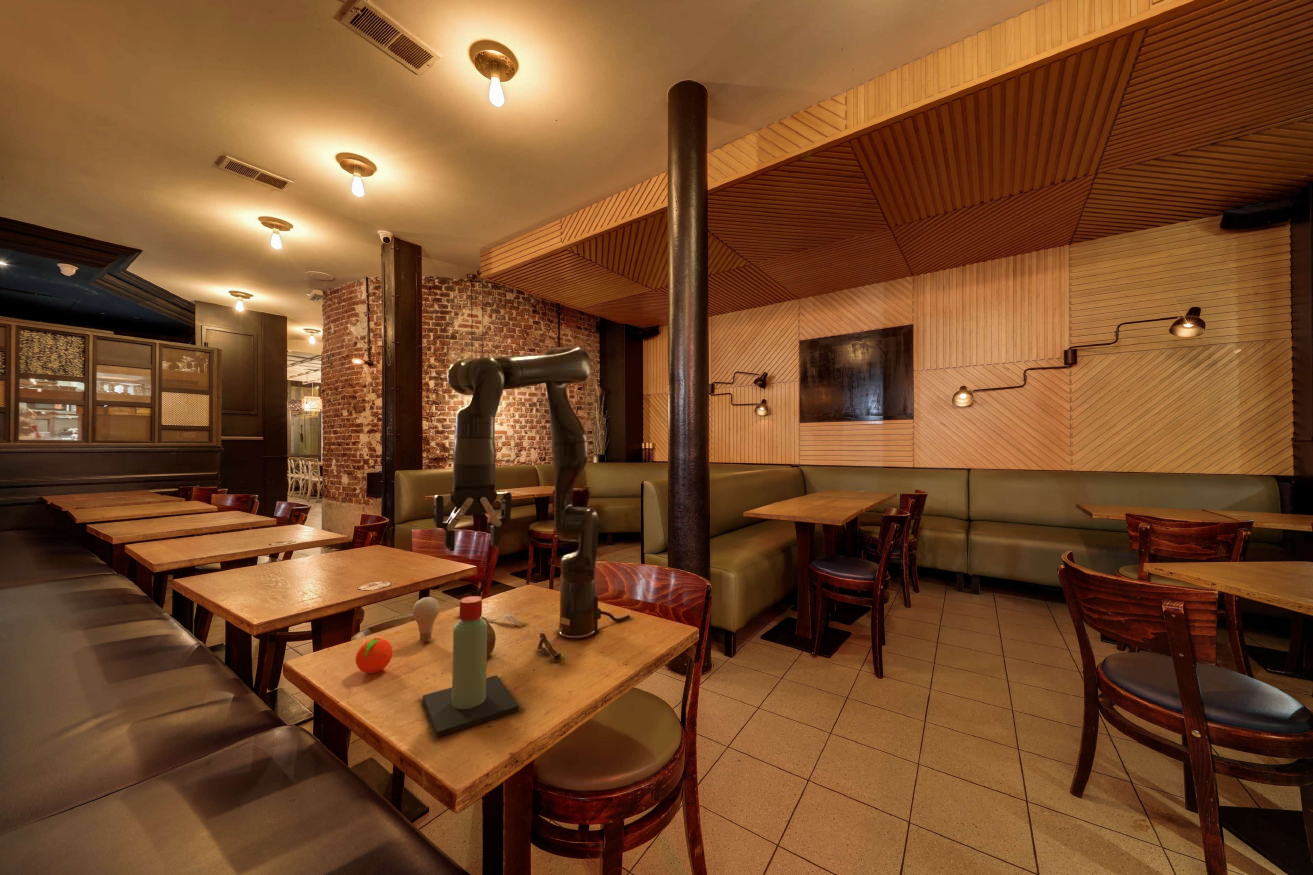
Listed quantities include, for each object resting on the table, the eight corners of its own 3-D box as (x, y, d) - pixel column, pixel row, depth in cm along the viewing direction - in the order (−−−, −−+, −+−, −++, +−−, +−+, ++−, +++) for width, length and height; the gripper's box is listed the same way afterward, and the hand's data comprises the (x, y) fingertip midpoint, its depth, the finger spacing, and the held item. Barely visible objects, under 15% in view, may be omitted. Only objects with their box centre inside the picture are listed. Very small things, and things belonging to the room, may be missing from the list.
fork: (464, 622, 133) (463, 613, 134) (525, 624, 127) (524, 613, 127) (457, 626, 131) (456, 616, 131) (519, 627, 124) (518, 617, 124)
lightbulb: (418, 636, 118) (419, 593, 118) (442, 636, 118) (443, 593, 118) (407, 647, 112) (408, 601, 112) (433, 646, 112) (434, 601, 112)
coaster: (496, 679, 97) (496, 674, 97) (518, 710, 85) (518, 705, 85) (422, 700, 88) (423, 695, 88) (436, 738, 77) (437, 732, 77)
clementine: (382, 680, 96) (383, 646, 96) (346, 683, 94) (346, 648, 95) (397, 663, 103) (398, 631, 104) (364, 665, 102) (364, 633, 102)
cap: (478, 611, 90) (479, 594, 90) (484, 617, 87) (484, 600, 87) (457, 615, 88) (457, 598, 88) (462, 622, 84) (462, 604, 85)
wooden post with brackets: (540, 644, 112) (544, 629, 111) (556, 668, 107) (561, 652, 105) (533, 646, 110) (537, 631, 109) (550, 670, 105) (555, 655, 104)
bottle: (481, 688, 91) (483, 595, 91) (489, 702, 86) (491, 603, 87) (448, 697, 88) (450, 600, 88) (455, 712, 83) (457, 609, 83)
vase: (484, 664, 103) (485, 625, 103) (457, 661, 104) (458, 622, 105) (501, 651, 110) (501, 614, 110) (475, 648, 111) (475, 612, 111)
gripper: (437, 462, 81) (435, 556, 80) (518, 462, 89) (516, 547, 89) (430, 461, 87) (428, 548, 86) (506, 460, 95) (504, 540, 95)
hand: (473, 547), depth 88 cm, fingers open, 7 cm apart
